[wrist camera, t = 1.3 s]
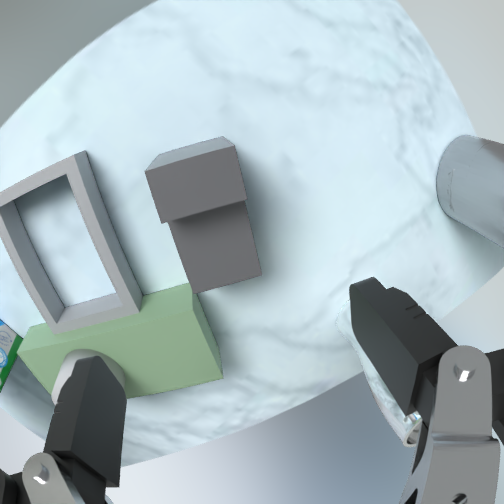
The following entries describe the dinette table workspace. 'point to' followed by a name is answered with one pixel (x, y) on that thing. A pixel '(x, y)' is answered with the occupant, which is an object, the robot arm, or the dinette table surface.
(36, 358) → the multicoloured piece
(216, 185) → the grey stepped block
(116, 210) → the dinette table surface
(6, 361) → the milk carton
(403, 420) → the beer glass
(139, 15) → the dinette table surface
